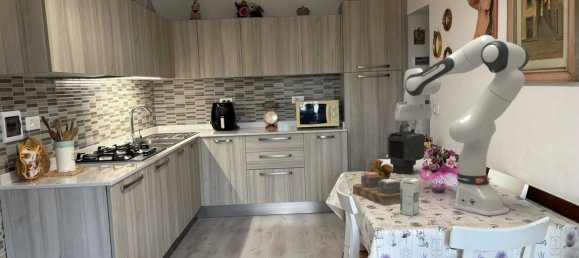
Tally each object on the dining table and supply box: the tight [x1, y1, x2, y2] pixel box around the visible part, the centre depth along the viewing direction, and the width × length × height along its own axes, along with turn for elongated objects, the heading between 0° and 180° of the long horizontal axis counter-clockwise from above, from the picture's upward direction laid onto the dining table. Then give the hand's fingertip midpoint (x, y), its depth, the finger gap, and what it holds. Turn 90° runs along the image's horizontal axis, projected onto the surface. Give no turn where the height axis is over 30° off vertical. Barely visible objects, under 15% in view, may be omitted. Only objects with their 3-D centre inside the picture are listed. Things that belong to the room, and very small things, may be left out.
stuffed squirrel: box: [367, 158, 394, 180], centre depth 242 cm, size 10×14×13 cm
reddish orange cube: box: [363, 171, 379, 178], centre depth 215 cm, size 5×5×5 cm
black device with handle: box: [387, 122, 425, 175], centre depth 264 cm, size 15×18×30 cm
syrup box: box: [399, 177, 420, 217], centre depth 181 cm, size 6×6×14 cm
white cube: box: [381, 178, 398, 183], centre depth 202 cm, size 5×5×5 cm
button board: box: [352, 174, 401, 206], centre depth 209 cm, size 26×14×9 cm, turn 24°
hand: (413, 129), depth 218 cm, fingers closed
